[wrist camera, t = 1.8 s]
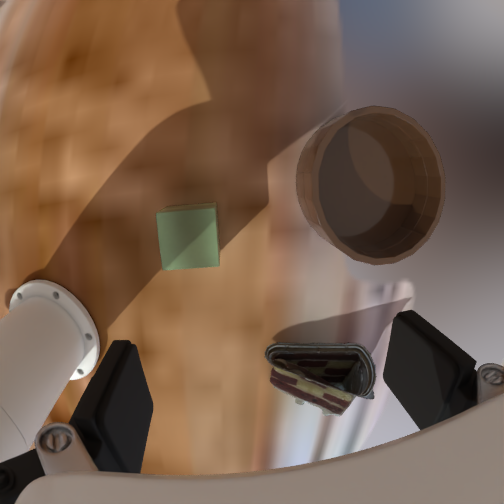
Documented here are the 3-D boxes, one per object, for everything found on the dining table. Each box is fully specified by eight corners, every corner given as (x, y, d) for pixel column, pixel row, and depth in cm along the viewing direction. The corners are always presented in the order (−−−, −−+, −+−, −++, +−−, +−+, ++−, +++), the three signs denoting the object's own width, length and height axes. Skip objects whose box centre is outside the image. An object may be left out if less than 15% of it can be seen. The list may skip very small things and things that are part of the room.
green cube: (171, 255, 27) (162, 270, 23) (166, 206, 26) (155, 213, 22) (220, 251, 28) (219, 266, 23) (216, 202, 26) (215, 207, 22)
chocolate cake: (247, 390, 32) (329, 452, 26) (257, 353, 29) (356, 424, 22) (296, 350, 39) (369, 399, 32) (310, 312, 35) (394, 365, 29)
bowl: (297, 254, 28) (312, 271, 23) (292, 112, 25) (306, 100, 20) (413, 245, 29) (441, 258, 24) (413, 122, 26) (442, 117, 21)
